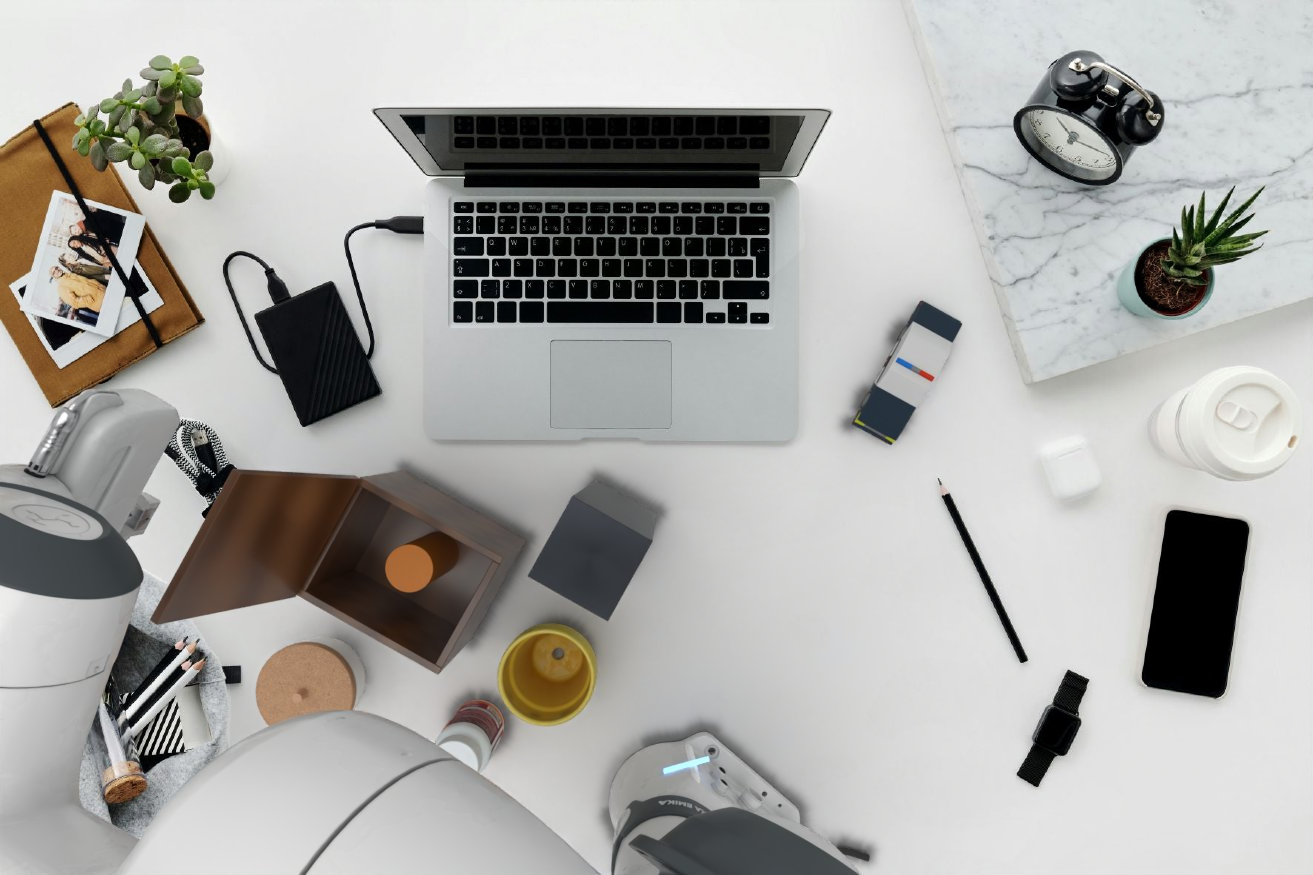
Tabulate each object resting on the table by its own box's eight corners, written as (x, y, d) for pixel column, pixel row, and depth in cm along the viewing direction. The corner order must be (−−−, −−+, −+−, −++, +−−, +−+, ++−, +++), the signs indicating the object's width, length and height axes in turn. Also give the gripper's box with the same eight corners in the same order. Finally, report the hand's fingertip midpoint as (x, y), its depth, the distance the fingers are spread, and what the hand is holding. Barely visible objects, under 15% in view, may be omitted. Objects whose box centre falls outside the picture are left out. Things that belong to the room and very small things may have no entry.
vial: (466, 545, 91) (441, 559, 81) (445, 582, 91) (418, 601, 81) (429, 524, 91) (399, 535, 81) (408, 561, 91) (376, 577, 81)
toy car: (848, 424, 91) (859, 423, 86) (916, 303, 91) (930, 295, 86) (887, 445, 91) (899, 446, 86) (954, 324, 91) (971, 317, 86)
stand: (656, 512, 91) (652, 541, 67) (623, 571, 91) (607, 621, 67) (597, 478, 91) (572, 495, 67) (563, 538, 92) (527, 576, 68)
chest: (527, 539, 92) (503, 557, 78) (471, 639, 92) (437, 675, 78) (404, 470, 92) (359, 476, 78) (348, 570, 92) (294, 594, 79)
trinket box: (369, 724, 92) (336, 758, 83) (281, 706, 92) (237, 737, 83) (387, 635, 92) (356, 659, 83) (299, 617, 92) (257, 638, 83)
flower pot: (528, 597, 92) (511, 617, 82) (612, 621, 92) (606, 644, 82) (504, 682, 92) (485, 712, 82) (589, 706, 92) (579, 739, 82)
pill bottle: (453, 697, 92) (423, 735, 81) (505, 698, 92) (483, 735, 80) (453, 749, 92) (423, 794, 81) (505, 750, 92) (482, 795, 81)
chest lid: (240, 473, 61) (232, 468, 61) (156, 625, 61) (149, 620, 61) (361, 479, 78) (354, 475, 78) (295, 597, 78) (289, 593, 78)
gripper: (30, 363, 48) (173, 378, 62) (-128, 652, 48) (49, 602, 62) (119, 413, 48) (242, 417, 62) (-40, 702, 48) (118, 641, 62)
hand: (145, 512), depth 62 cm, fingers closed
